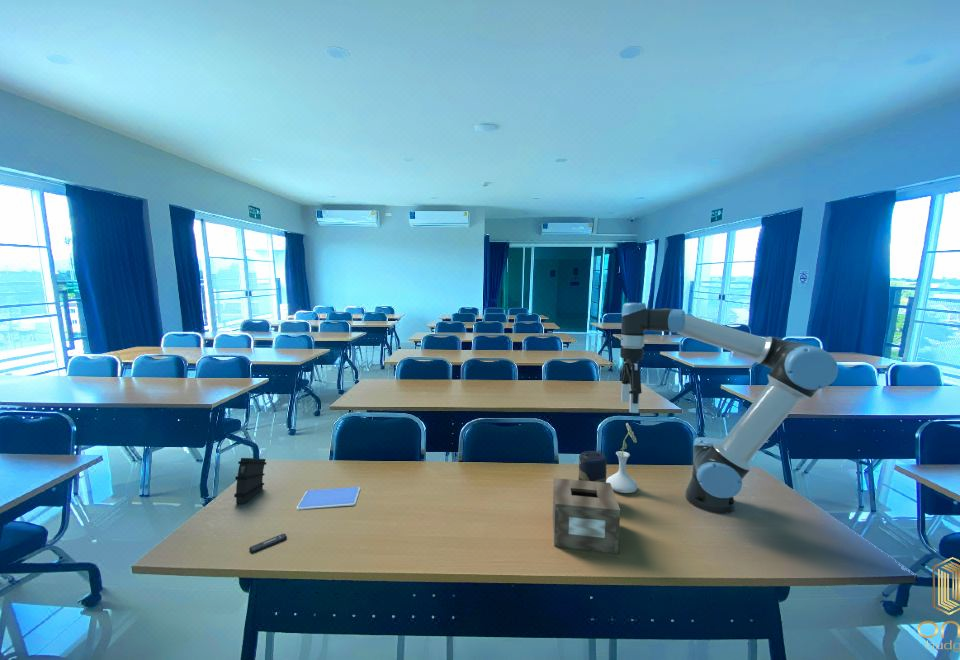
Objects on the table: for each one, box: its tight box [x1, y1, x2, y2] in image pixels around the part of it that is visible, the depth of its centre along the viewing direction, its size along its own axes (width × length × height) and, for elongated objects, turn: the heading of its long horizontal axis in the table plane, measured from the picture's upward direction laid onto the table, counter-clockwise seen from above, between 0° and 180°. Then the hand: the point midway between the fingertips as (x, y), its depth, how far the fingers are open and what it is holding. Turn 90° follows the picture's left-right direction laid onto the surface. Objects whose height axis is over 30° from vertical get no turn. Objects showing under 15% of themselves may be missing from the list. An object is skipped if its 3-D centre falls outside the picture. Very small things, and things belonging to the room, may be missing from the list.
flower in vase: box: [606, 422, 638, 494], centre depth 144 cm, size 13×11×25 cm
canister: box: [578, 450, 607, 483], centre depth 135 cm, size 10×10×18 cm
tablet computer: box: [296, 486, 361, 511], centre depth 135 cm, size 19×13×1 cm, turn 99°
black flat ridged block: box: [233, 457, 267, 505], centre depth 136 cm, size 4×13×15 cm, turn 179°
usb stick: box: [249, 533, 288, 554], centre depth 109 cm, size 10×3×2 cm, turn 134°
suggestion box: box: [552, 477, 621, 555], centre depth 116 cm, size 18×16×13 cm
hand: (629, 406), depth 133 cm, fingers open, 13 cm apart
